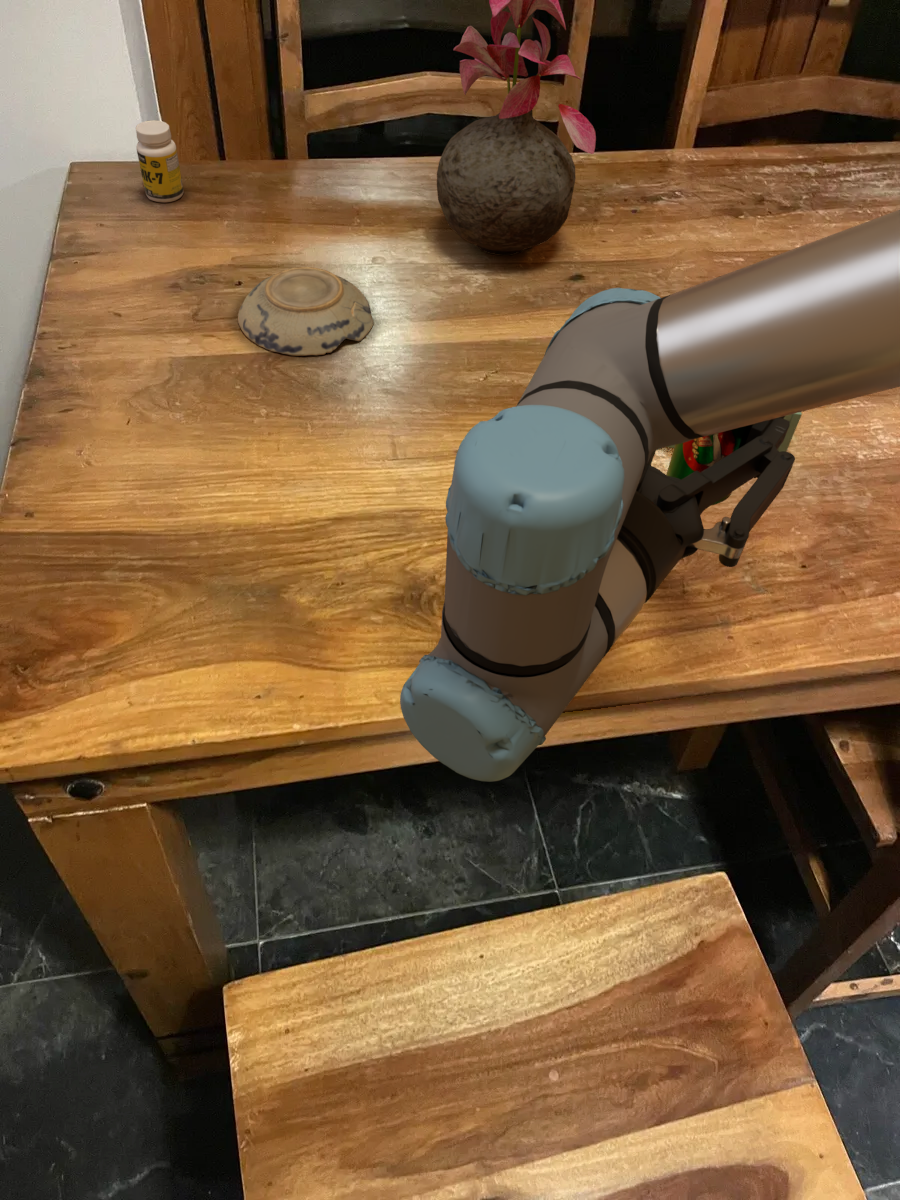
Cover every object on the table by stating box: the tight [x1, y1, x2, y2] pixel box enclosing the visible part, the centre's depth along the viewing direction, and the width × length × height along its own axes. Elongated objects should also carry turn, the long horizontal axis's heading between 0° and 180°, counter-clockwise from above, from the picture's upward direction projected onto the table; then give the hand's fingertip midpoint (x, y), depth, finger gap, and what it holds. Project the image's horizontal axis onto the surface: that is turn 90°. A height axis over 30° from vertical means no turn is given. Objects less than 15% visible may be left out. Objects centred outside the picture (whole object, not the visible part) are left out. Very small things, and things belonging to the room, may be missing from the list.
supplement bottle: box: [135, 120, 184, 204], centre depth 116 cm, size 5×5×8 cm
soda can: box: [665, 424, 754, 506], centre depth 67 cm, size 5×5×12 cm
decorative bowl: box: [237, 266, 374, 357], centre depth 102 cm, size 15×4×15 cm
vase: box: [436, 0, 597, 256], centre depth 104 cm, size 17×17×30 cm
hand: (749, 383), depth 69 cm, fingers closed on soda can, 5 cm apart
